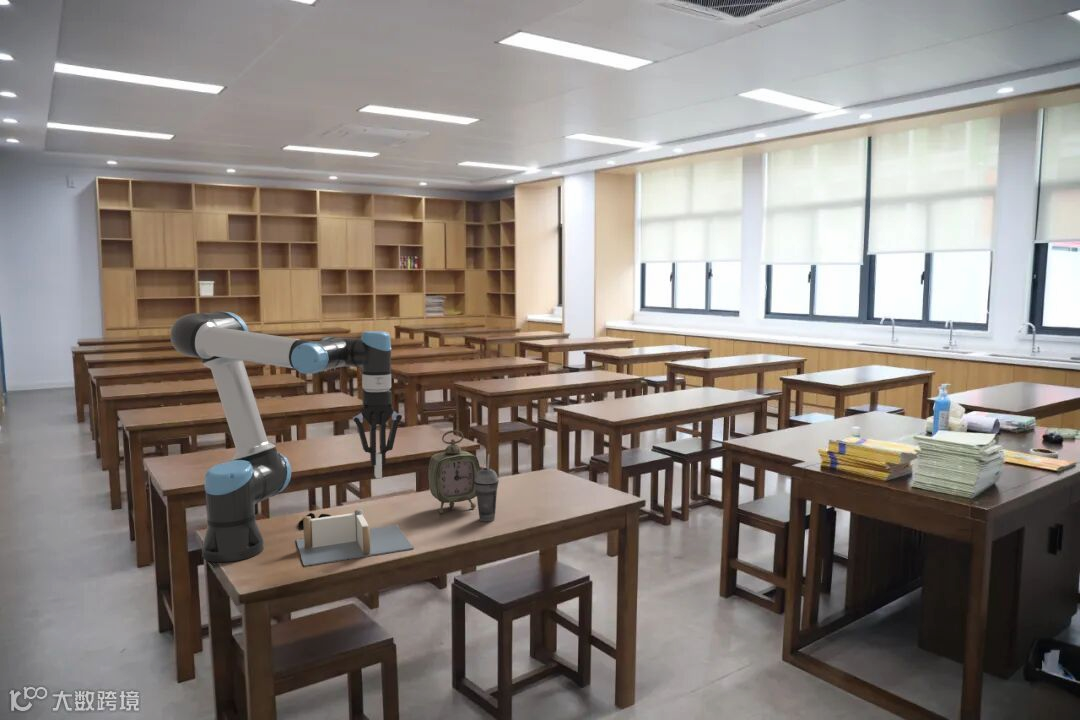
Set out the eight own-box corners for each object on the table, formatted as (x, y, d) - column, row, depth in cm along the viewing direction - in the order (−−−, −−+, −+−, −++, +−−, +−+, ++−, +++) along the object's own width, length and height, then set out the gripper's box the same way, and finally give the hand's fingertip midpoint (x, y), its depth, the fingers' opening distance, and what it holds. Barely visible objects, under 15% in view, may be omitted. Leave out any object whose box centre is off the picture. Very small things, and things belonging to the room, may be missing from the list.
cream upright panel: (356, 540, 199) (355, 515, 198) (363, 539, 199) (362, 514, 199) (363, 554, 189) (362, 527, 188) (370, 552, 189) (370, 526, 189)
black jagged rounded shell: (334, 530, 211) (334, 513, 210) (299, 535, 207) (298, 518, 207) (330, 518, 222) (330, 502, 221) (296, 522, 218) (295, 506, 218)
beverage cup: (488, 513, 222) (487, 449, 220) (504, 519, 217) (503, 453, 215) (470, 519, 217) (468, 453, 215) (485, 525, 212) (484, 458, 210)
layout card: (303, 566, 183) (303, 564, 183) (296, 540, 201) (296, 539, 201) (413, 549, 194) (413, 547, 194) (396, 526, 212) (396, 524, 212)
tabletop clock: (436, 516, 220) (434, 435, 218) (427, 508, 228) (425, 430, 226) (481, 509, 227) (479, 430, 224) (470, 501, 235) (468, 425, 232)
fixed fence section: (305, 550, 194) (303, 519, 193) (304, 547, 196) (302, 516, 195) (363, 541, 200) (362, 511, 199) (362, 539, 202) (361, 509, 201)
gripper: (354, 393, 186) (355, 482, 189) (404, 390, 191) (405, 477, 194) (349, 388, 193) (351, 475, 196) (398, 386, 198) (399, 470, 201)
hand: (378, 476), depth 195 cm, fingers closed
